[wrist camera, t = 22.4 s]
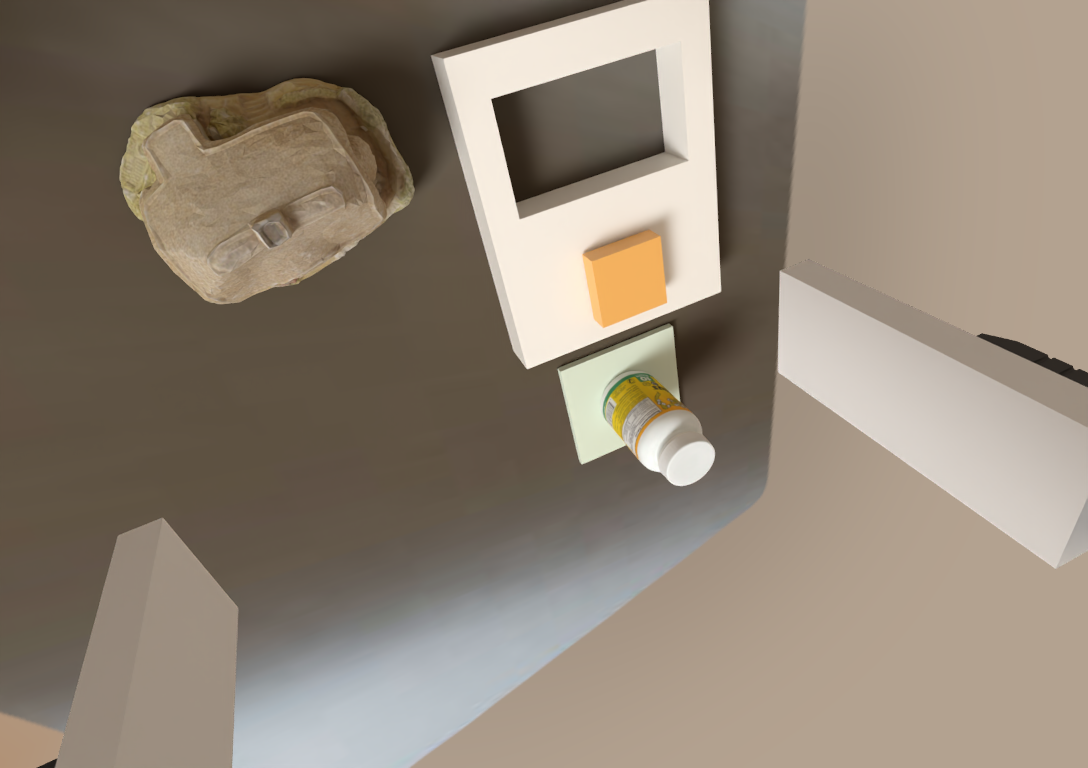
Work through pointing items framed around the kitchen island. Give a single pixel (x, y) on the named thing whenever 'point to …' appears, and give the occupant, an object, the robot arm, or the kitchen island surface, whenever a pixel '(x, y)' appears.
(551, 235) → the frame
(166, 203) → the ceramic model
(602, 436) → the mat
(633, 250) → the orange sticky note pad
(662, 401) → the supplement bottle
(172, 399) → the kitchen island surface
